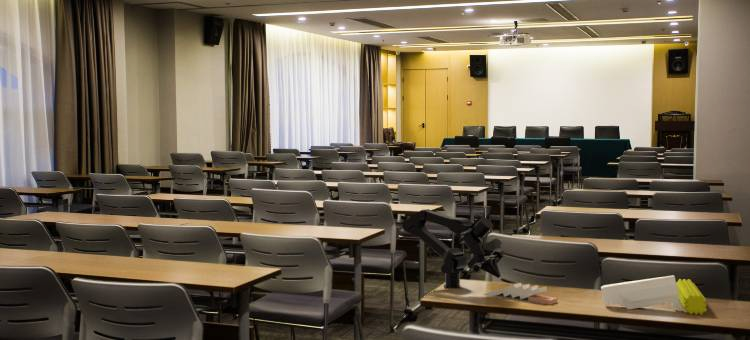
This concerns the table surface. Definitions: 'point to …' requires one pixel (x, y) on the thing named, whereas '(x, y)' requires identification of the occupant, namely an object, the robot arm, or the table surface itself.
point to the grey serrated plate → (509, 297)
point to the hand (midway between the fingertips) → (499, 277)
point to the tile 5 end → (542, 299)
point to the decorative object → (691, 297)
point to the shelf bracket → (642, 293)
